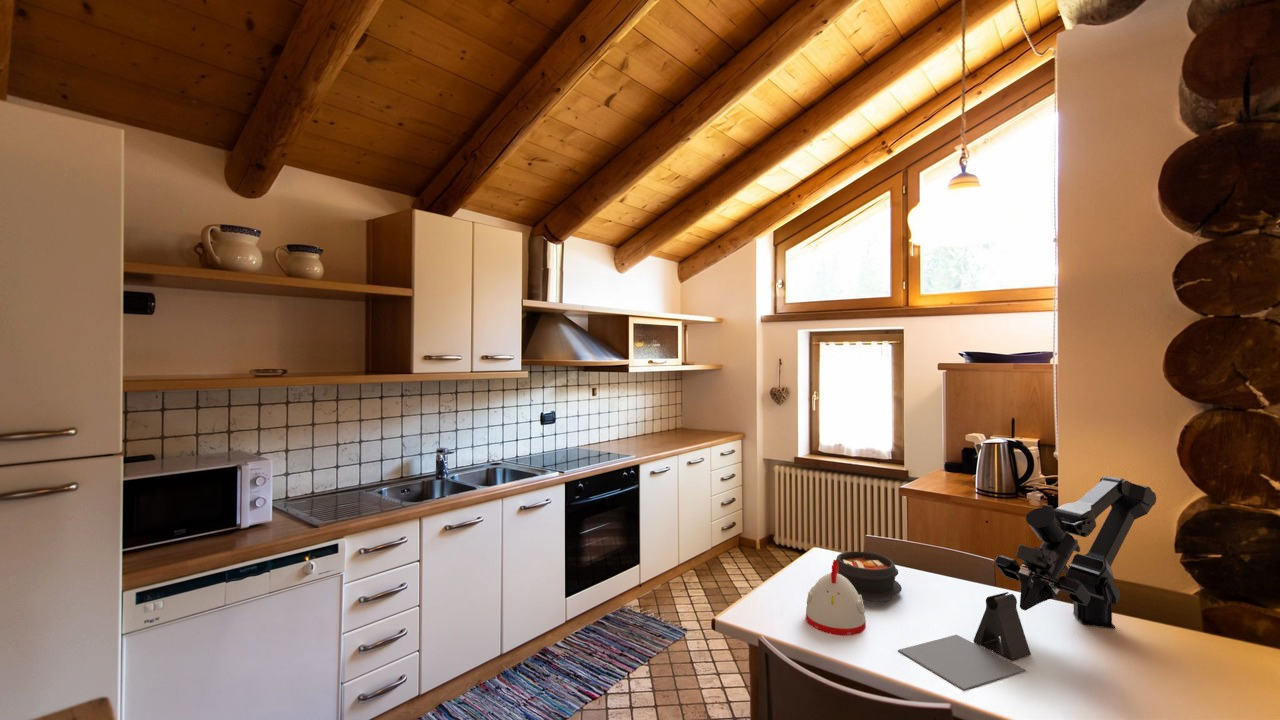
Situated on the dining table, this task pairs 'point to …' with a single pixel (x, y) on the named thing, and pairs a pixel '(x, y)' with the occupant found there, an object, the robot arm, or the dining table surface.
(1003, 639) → the phone stand
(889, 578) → the casserole
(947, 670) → the mat
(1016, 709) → the dining table surface
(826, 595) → the kitchen timer
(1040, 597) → the robot arm
